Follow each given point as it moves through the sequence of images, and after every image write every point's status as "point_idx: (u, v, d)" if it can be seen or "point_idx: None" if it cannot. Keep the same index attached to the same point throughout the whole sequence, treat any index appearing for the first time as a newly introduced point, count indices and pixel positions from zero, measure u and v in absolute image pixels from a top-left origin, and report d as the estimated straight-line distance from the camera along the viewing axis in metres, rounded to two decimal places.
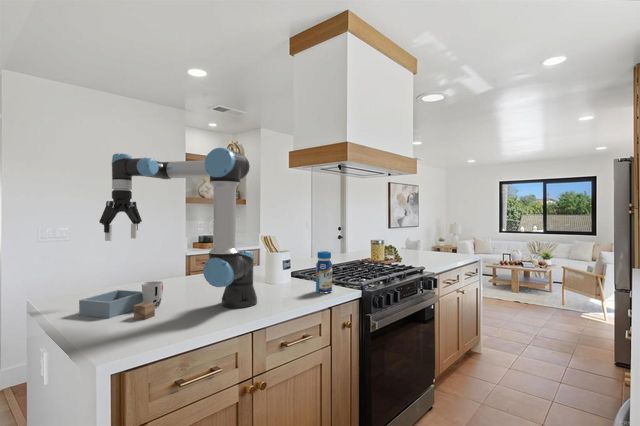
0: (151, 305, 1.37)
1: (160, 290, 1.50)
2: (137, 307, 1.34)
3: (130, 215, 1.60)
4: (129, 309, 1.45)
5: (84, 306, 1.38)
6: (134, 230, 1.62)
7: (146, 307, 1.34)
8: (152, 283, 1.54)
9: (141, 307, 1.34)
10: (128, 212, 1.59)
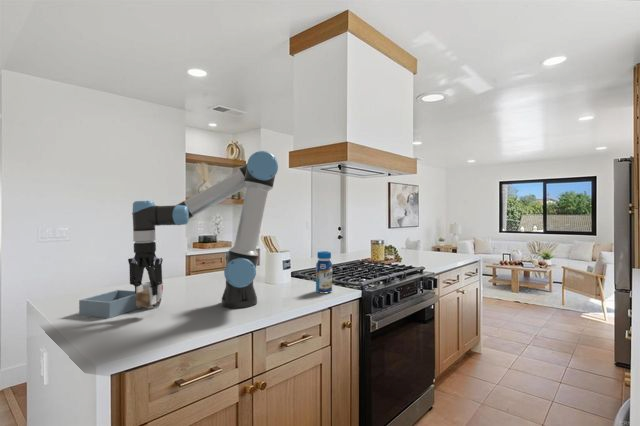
0: None
1: (160, 290, 1.50)
2: (139, 294, 1.34)
3: None
4: (129, 309, 1.45)
5: (84, 306, 1.38)
6: None
7: (148, 294, 1.34)
8: None
9: (143, 294, 1.34)
10: None
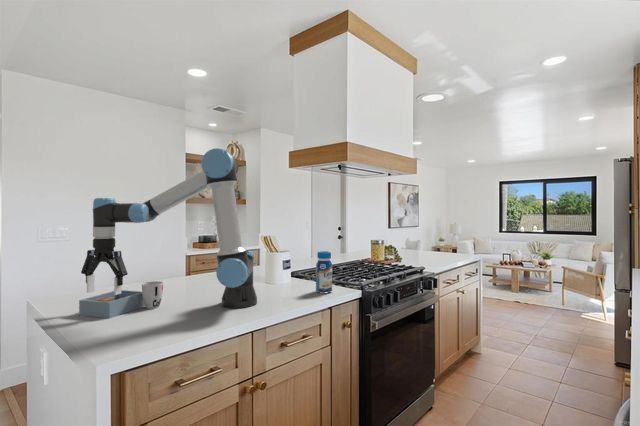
0: (111, 299, 1.41)
1: (160, 290, 1.50)
2: None
3: None
4: (129, 309, 1.45)
5: (84, 306, 1.38)
6: None
7: None
8: (152, 283, 1.54)
9: None
10: None
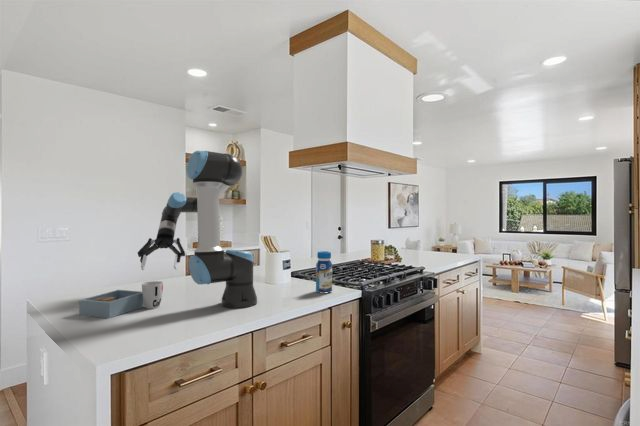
0: (111, 299, 1.41)
1: (160, 290, 1.50)
2: None
3: (172, 249, 1.69)
4: (129, 309, 1.45)
5: (84, 306, 1.38)
6: None
7: None
8: (152, 283, 1.54)
9: None
10: (170, 246, 1.69)
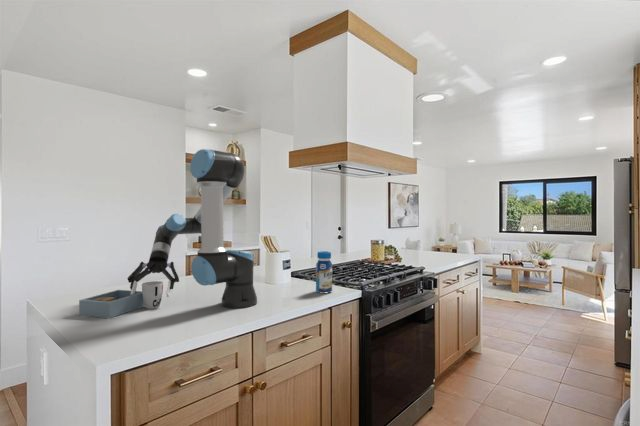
0: (111, 299, 1.41)
1: (160, 290, 1.50)
2: None
3: (165, 274, 1.57)
4: (129, 309, 1.45)
5: (84, 306, 1.38)
6: None
7: None
8: (152, 283, 1.54)
9: None
10: (163, 271, 1.58)
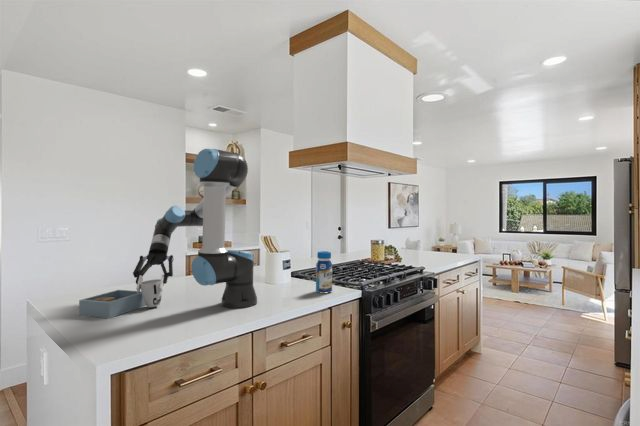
0: (111, 299, 1.41)
1: (159, 288, 1.49)
2: None
3: None
4: (129, 309, 1.45)
5: (84, 306, 1.38)
6: None
7: None
8: (151, 282, 1.54)
9: None
10: (160, 264, 1.57)
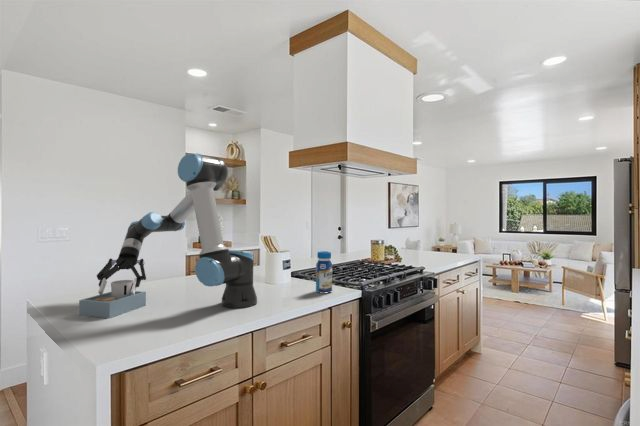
0: (111, 299, 1.41)
1: (129, 289, 1.48)
2: None
3: (133, 271, 1.54)
4: (129, 309, 1.45)
5: (84, 306, 1.38)
6: None
7: None
8: (122, 282, 1.52)
9: None
10: (131, 268, 1.55)
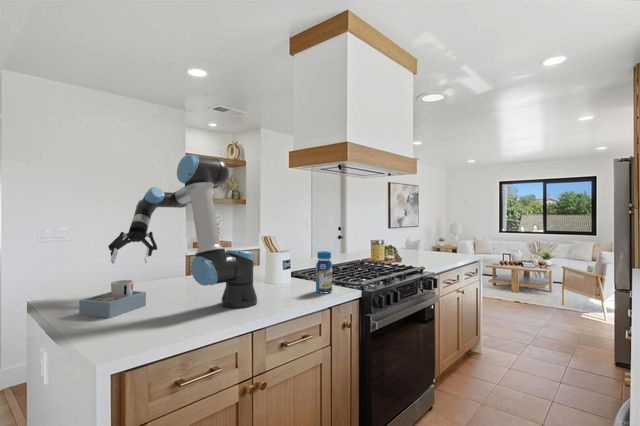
0: (111, 299, 1.41)
1: (129, 289, 1.48)
2: None
3: (144, 243, 1.67)
4: (129, 309, 1.45)
5: (84, 306, 1.38)
6: None
7: None
8: (122, 282, 1.52)
9: None
10: (142, 240, 1.68)
